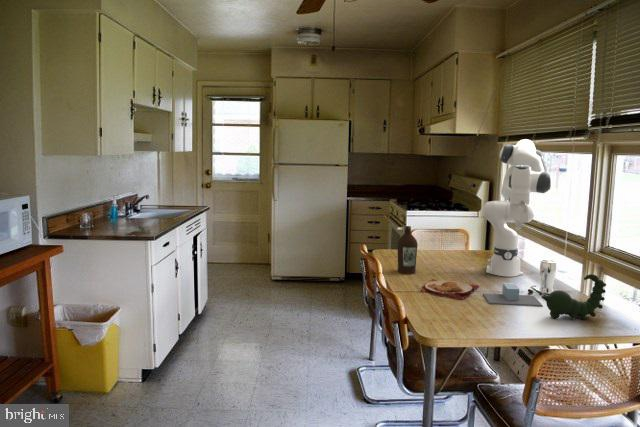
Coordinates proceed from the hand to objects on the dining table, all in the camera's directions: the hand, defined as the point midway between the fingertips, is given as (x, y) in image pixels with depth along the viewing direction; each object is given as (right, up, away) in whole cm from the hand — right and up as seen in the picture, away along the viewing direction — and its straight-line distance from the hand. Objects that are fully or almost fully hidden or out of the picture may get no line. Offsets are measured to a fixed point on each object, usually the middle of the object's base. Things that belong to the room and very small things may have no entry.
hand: (518, 229), depth 233 cm
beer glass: (+14, -30, +1) cm, 33 cm away
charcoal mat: (-8, -31, -12) cm, 34 cm away
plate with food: (-32, -30, +4) cm, 44 cm away
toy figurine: (+7, -34, -34) cm, 49 cm away
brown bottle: (-46, -24, +37) cm, 64 cm away
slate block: (-6, -27, -4) cm, 28 cm away
